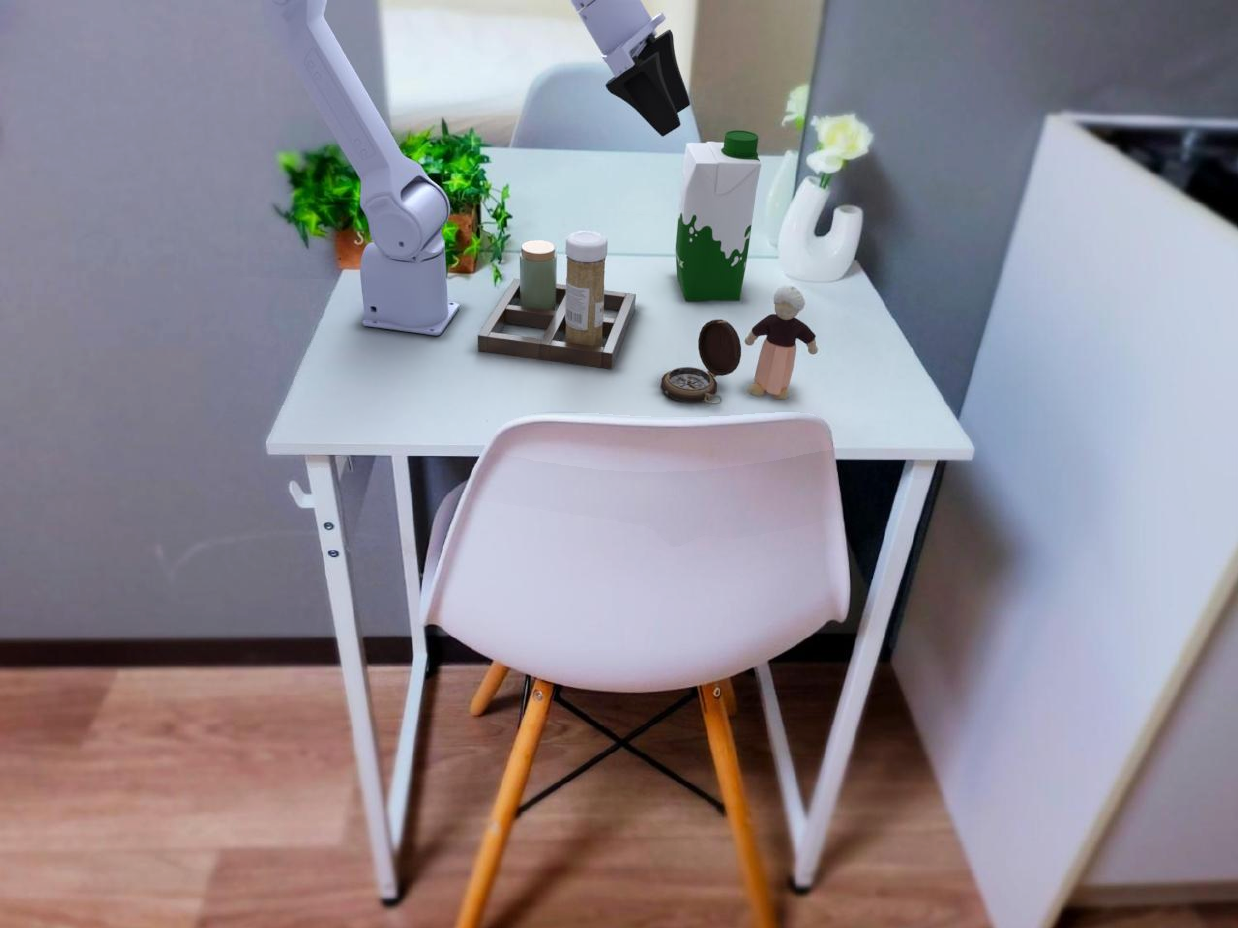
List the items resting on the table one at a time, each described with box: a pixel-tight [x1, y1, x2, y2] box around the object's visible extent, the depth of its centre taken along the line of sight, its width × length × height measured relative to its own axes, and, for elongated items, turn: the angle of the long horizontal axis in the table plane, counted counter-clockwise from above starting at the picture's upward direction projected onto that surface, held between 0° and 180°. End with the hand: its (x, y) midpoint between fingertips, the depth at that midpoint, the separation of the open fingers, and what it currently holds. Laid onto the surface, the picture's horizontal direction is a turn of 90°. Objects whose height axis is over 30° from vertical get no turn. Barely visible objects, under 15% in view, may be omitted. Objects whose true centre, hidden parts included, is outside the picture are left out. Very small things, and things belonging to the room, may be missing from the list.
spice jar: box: [519, 239, 558, 311], centre depth 119 cm, size 4×4×8 cm
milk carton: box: [675, 129, 762, 301], centre depth 123 cm, size 9×9×20 cm
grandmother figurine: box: [744, 285, 819, 400], centre depth 104 cm, size 8×4×13 cm, turn 87°
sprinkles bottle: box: [564, 230, 609, 347], centre depth 110 cm, size 5×5×14 cm
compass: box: [660, 318, 742, 405], centre depth 105 cm, size 8×8×7 cm
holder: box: [477, 278, 637, 370], centre depth 117 cm, size 16×16×2 cm
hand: (676, 120), depth 99 cm, fingers open, 7 cm apart
